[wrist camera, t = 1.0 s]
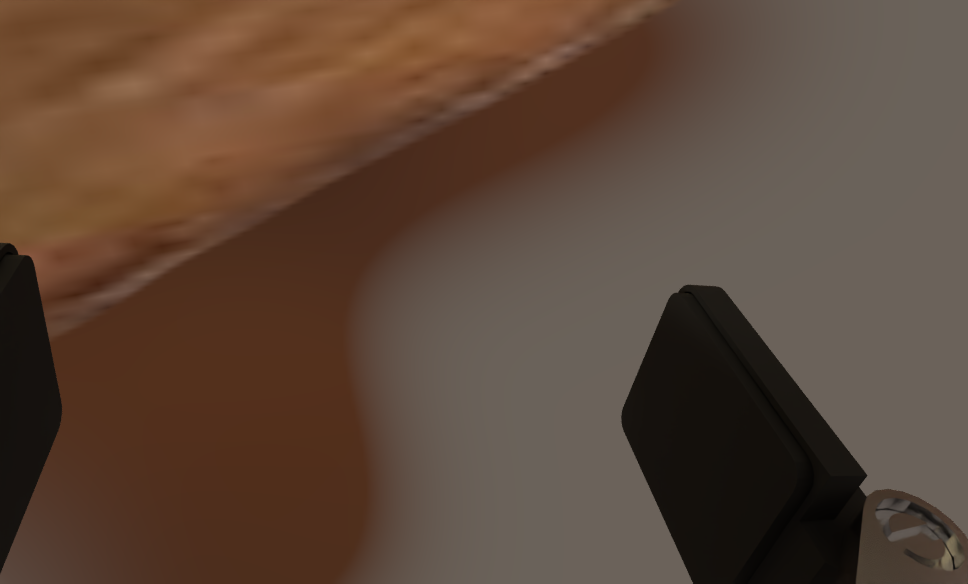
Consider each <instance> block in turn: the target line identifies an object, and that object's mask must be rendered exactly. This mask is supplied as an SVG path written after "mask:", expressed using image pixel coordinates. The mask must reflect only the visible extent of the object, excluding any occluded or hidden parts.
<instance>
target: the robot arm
mask: <svg viewBox="0 0 968 584" xmlns="http://www.w3.org/2000/svg"><path fill="white" fill-rule="evenodd" d="M61 415H62V404H61V398H60V393H59V388H58V383H57V378H56V373H55V368H54V363H53V357H52V353H51V347H50V342H49V337H48V332H47V327H46V322H45V317H44V312H43V307H42V302H41V297H40V292H39V287H38V282H37V277H36V272H35V267H34V263H33V260H32V259H31V257H29V256H27V255H18V252H17V250H16V248H15V247H14V245H12V244H10V243H0V573H1V570H2V568H3V565H4V563H5V560H6V558H7V556H8V553H9V551H10V548H11V546H12V543H13V541H14V538H15V536H16V533H17V531H18V529H19V526H20V524H21V521H22V519H23V516H24V514H25V511H26V509H27V506H28V504H29V501H30V499H31V496H32V494H33V492H34V489H35V487H36V484H37V482H38V479H39V477H40V474H41V472H42V469H43V467H44V464H45V462H46V459H47V457H48V455H49V452H50V450H51V447H52V445H53V442H54V440H55V437H56V435H57V432H58V429H59V426H60V422H61ZM621 418H622V427H623V430H624V432H625V435H626V436H627V439H628V441H629V443H630V445H631V448H632V450H633V452H634V455H635V456H636V459H637V461H638V463H639V465H640V468H641V470H642V472H643V474H644V476H645V478H646V481H647V483H648V485H649V487H650V489H651V492H652V494H653V496H654V498H655V501H656V502H657V505H658V507H659V509H660V512H661V514H662V516H663V518H664V520H665V522H666V525H667V527H668V529H669V531H670V533H671V536H672V538H673V540H674V542H675V544H676V547H677V549H678V551H679V553H680V555H681V557H682V560H683V562H684V564H685V566H686V569H687V571H688V573H689V575H690V577H691V580H692V582H693V584H968V539H967V537H966V536H965V534H964V533H963V532H962V531H961V530H960V528H958V526H957V525H956V524H955V523H954V522H953V521H952V520H951V519H950V518H948V517H947V516H946V515H945V514H943V513H942V512H941V511H940V510H938V509H937V508H936V507H934V506H932V505H931V504H929V503H927V502H925V501H924V500H922V499H920V498H918V497H916V496H913V495H910V494H908V493H905V492H902V491H896V490H891V489H884V490H876V491H874V492H873V493H871V494H870V495H868V496H867V497H866V496H865V494H864V493H863V492H862V490H861V489H860V488H859V486H860V485H861V483H862V482H863V481H864V479H865V478H866V477H867V474H866V473H865V472H864V470H863V469H862V468H861V466H860V465H859V464H858V463H857V461H856V460H855V459H854V458H853V456H852V455H851V454H850V452H849V451H848V450H847V448H846V447H845V446H844V445H843V443H842V442H841V441H840V440H839V438H838V437H837V435H836V434H835V433H834V432H833V430H832V429H831V428H830V426H829V425H828V424H827V423H826V421H825V420H824V419H823V417H822V416H821V415H820V414H819V412H818V411H817V410H816V408H815V407H814V406H813V405H812V403H811V402H810V401H809V400H808V398H807V397H806V396H805V394H804V393H803V392H802V390H801V389H800V388H799V386H798V385H797V384H796V383H795V381H794V380H793V379H792V378H791V376H790V375H789V374H788V372H787V371H786V370H785V368H784V367H783V366H782V364H781V363H780V362H779V361H778V359H777V358H776V357H775V355H774V354H773V353H772V352H771V350H770V349H769V348H768V346H767V345H766V344H765V343H764V341H763V340H762V339H761V337H760V336H759V335H758V333H757V332H756V331H755V330H754V328H752V326H751V324H750V323H749V322H748V321H747V319H746V318H745V317H744V315H743V314H742V313H741V312H740V310H739V309H738V308H737V306H736V305H735V304H734V303H733V301H732V300H731V299H730V297H729V296H728V295H727V294H726V292H725V291H724V290H723V289H722V288H720V287H716V286H699V285H686V286H683V287H682V288H681V289H680V290H679V292H678V293H674V294H672V295H671V297H670V298H669V300H668V302H667V304H666V307H665V309H664V311H663V314H662V316H661V319H660V321H659V324H658V326H657V328H656V331H655V333H654V335H653V338H652V340H651V342H650V345H649V347H648V350H647V352H646V354H645V357H644V359H643V361H642V364H641V366H640V369H639V371H638V373H637V376H636V378H635V381H634V383H633V385H632V388H631V390H630V392H629V395H628V397H627V400H626V402H625V404H624V407H623V410H622V416H621Z"/></svg>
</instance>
